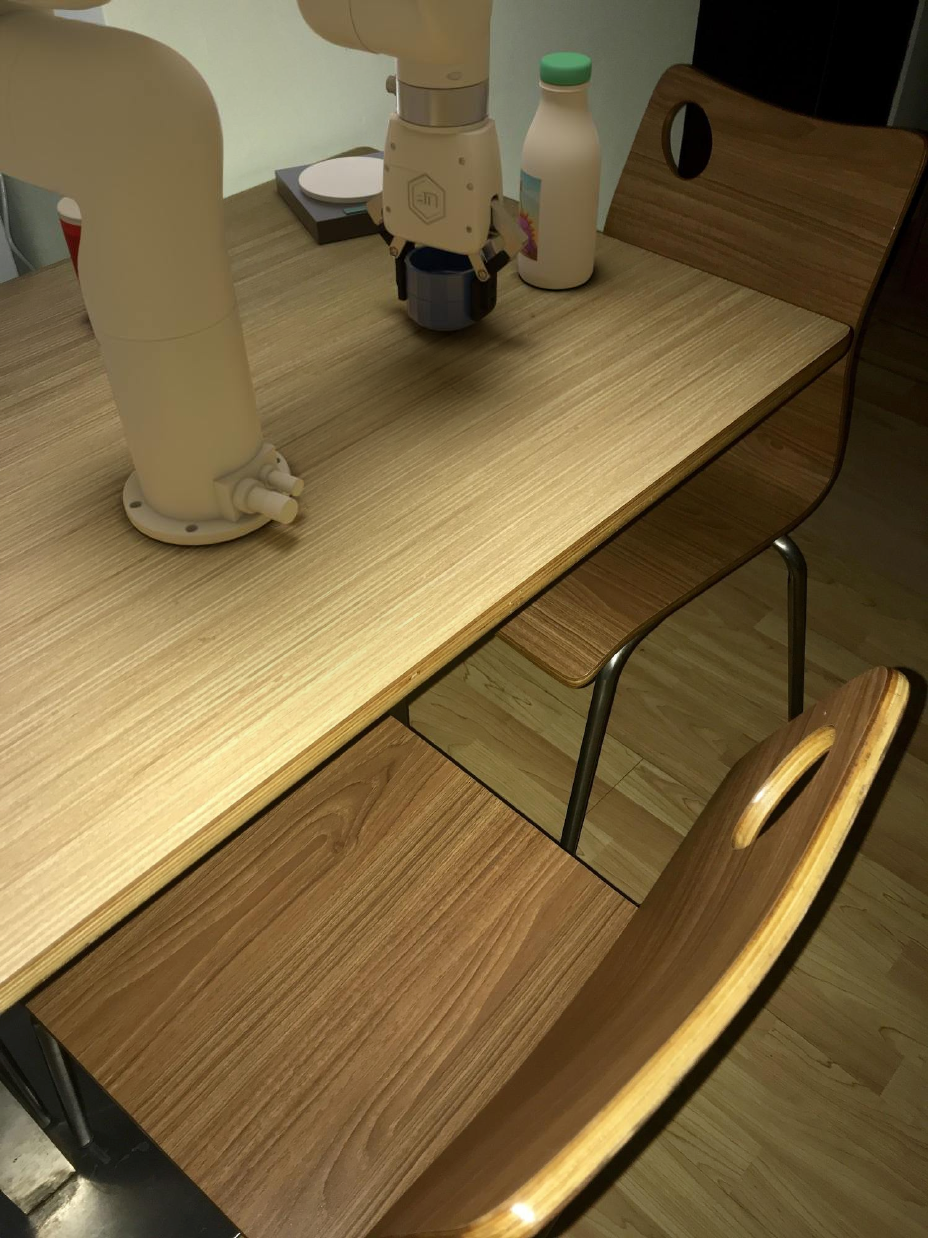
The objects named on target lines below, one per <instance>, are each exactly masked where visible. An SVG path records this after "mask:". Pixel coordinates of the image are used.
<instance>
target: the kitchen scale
mask: <svg viewBox="0 0 928 1238" xmlns="http://www.w3.org/2000/svg"><path fill="white" fill-rule="evenodd" d="M383 160H384V150H383V151H378V152H372V153H367V154H359V155H355V156H345V157H344V156H343V157H337V158H331V159H327V160H323V161H320V162H315V163H309V164H303V165H297V166H292V167H286V168H281V169H275V170H274V176H275V177H274V178H275V183H276V190H277V193H278V194H279V196H280V197H281V198H282V199H283V200H284V202H285V203H286V205H288V207H289V208H290V209H291V210H292V212H293V213H294V214H295V216H296V217H297V219H298V220H299V221H300V222H301V224H302V225H303V226H304V227H305V228H306V230H308V232H309V234H310V235H311V237H313V239H314V240H315V241H316V242H317V244H318V245H323V244H329V243H334V242H338V241H344V240H349V239H354V238H358V237H364V236H369V235H374V234H379V232H378V229H377V227H378V226H377V224H375V223H374V221H373V220H372V218H371V216H370V215H369V213H368V211H367V210H366V203H367V202H368V201H369V200H371V199H372V198H373V197H375V196H376V195H377V194H378V193H380V192H381V191H382V190H383Z"/></svg>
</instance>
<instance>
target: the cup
mask: <svg viewBox="0 0 928 1238" xmlns="http://www.w3.org/2000/svg"><path fill="white" fill-rule="evenodd" d="M484 257H485V256H484ZM476 276H477V275H476V273H475V271H474V268H473V266H472V264H471V262H470V259H469V257H468V255H464V254H458V253H454V252H450V251H446V250H442V249H438V248H434V247H430V246H426V245H422V244H421V245H419V246H415V248H414V249H413V250H411V251H410V252H408V253H407V255H406V258H405V280H406V301H405V302H406V312H407V315H408V316H409V318H410V319H412V320H413V321H414V322H415V323H416V324H418V325H419V326H421V327H423V328H426V329H428V330H433V331H441V332H443V331H444V332H447V331H459V330H462V329H465V328H468V327H470V326H472V325H473V324H475V323H476V322H475V321H473V320H472V319H471V281H472V279H474V278H475V277H476Z"/></svg>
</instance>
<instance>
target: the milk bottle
mask: <svg viewBox="0 0 928 1238" xmlns="http://www.w3.org/2000/svg"><path fill="white" fill-rule="evenodd" d="M592 71H593V62H592V59H591V58H590V56H587V55H586V54H583V53H579V52H571V51H561V52H554V53H549V54H546V55H544V56H543V57H542V58H541V59H540V63H539V78H540V79H539V87H540V88H541V96H540V99H539V104H538V107H537V110H536V113H535V115H534V116H533V117H534V118H533V120H532V122H531V124H530V126H529V129H528V131H527V133H526V136H525V139H524V141H523V146H522V152H521V158H520V174H519V194H518V195H519V198H518V199H519V200H518V225H519V226H520V227H521V228H522V229H523V231H524V232H525V233H526V234H527V236H528V238H529V242H528V243H527V244H526V246H525V247H524V248H523V249H522V250H521V251H520V252H519V253H518V254H517V272H518V275H519V276H520V277H521V279H522V280H523V281H524V282H526V283H528V284H529V285H532V286H534V287H537V288H541V289H548V290H549V289H550V290H563V289H564V290H565V289H570V288H575V287H579V286H581V285H583V284H585V283H586V282H587V281H589V279H590V277H591V276H592V274H593V272H594V265H595V255H596V254H595V253H596V242H597V231H598V230H597V228H598V215H599V201H600V188H601V169H602V154H601V143H600V139H599V134H598V132H597V128H596V125H595V122H594V120H593V117H592V114H591V109H590V106H589V98H588V90H589V88H590V86H591V85H592V84H591V77H592Z"/></svg>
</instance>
